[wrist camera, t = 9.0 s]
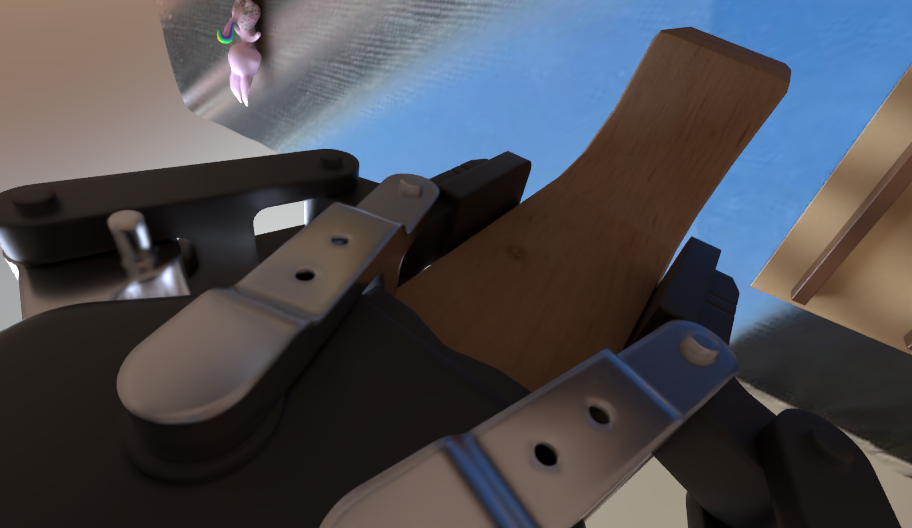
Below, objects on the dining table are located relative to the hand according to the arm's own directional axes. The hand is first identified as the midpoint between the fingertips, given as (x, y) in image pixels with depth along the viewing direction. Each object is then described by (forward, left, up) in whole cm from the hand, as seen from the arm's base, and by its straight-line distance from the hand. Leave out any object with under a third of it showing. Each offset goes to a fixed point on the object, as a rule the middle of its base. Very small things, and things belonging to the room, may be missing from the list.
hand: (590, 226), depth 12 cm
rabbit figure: (+9, -57, -27) cm, 64 cm away
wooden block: (0, 0, -11) cm, 11 cm away
